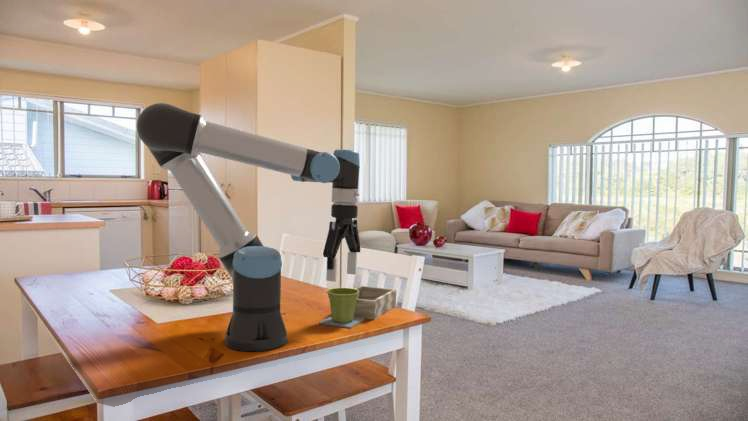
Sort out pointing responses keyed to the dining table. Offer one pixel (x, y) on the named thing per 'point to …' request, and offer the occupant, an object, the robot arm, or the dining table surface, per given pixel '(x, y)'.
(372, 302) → the frame
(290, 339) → the dining table surface
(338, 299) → the plant pot
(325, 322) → the mat
